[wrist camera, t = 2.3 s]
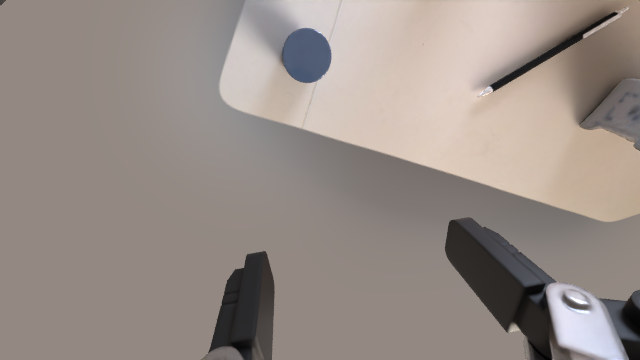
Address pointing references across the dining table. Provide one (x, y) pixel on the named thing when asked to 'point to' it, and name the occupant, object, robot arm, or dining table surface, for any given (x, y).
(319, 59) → the cylinder
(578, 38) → the pen
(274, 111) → the dining table surface
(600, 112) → the incense holder
